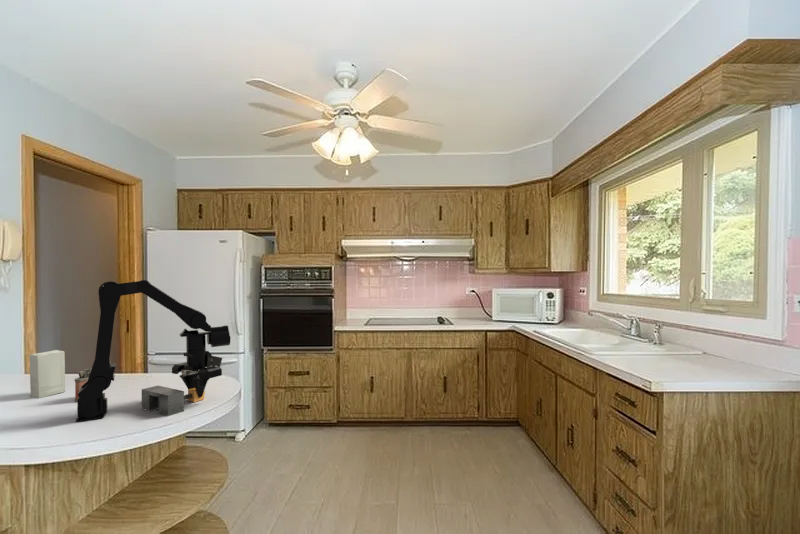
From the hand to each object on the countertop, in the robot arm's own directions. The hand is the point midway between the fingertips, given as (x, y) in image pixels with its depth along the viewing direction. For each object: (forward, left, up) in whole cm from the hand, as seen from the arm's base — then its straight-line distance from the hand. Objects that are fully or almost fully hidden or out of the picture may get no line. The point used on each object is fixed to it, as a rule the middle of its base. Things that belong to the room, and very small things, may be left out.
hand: (197, 396), depth 138 cm
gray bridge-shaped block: (-10, -6, -1) cm, 11 cm away
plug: (-4, -2, -1) cm, 5 cm away
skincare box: (-45, +36, -1) cm, 58 cm away
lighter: (-32, +22, -1) cm, 39 cm away
